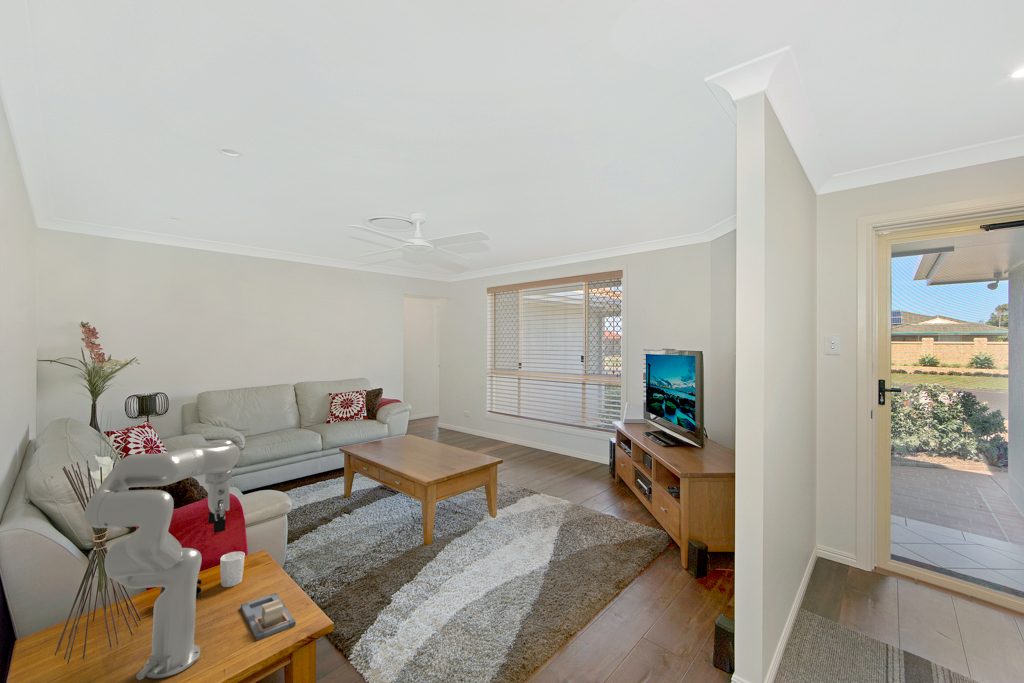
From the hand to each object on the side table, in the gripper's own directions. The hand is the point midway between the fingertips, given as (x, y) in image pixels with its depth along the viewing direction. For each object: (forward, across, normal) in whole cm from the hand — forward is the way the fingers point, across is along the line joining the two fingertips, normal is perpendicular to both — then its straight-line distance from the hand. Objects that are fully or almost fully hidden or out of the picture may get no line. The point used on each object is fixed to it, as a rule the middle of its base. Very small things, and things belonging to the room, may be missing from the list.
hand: (216, 527), depth 147 cm
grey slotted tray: (+28, -16, -13) cm, 35 cm away
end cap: (+29, +16, +7) cm, 33 cm away
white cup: (+28, +17, -8) cm, 34 cm away
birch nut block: (+28, -21, -13) cm, 37 cm away
